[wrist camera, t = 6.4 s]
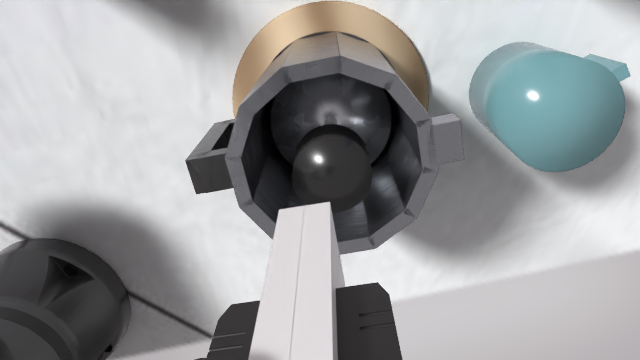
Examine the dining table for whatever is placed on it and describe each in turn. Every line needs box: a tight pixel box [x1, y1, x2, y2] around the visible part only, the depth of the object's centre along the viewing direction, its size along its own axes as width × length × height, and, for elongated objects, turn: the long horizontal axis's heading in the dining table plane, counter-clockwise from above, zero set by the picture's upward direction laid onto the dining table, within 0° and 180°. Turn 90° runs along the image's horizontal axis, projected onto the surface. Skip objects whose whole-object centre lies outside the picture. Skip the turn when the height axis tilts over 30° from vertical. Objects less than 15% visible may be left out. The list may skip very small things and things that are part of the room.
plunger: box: [270, 73, 391, 213], centre depth 32 cm, size 9×9×12 cm
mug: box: [469, 42, 630, 172], centre depth 38 cm, size 10×8×10 cm
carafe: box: [185, 31, 464, 255], centre depth 36 cm, size 17×12×15 cm
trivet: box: [233, 1, 429, 119], centre depth 43 cm, size 17×17×1 cm
